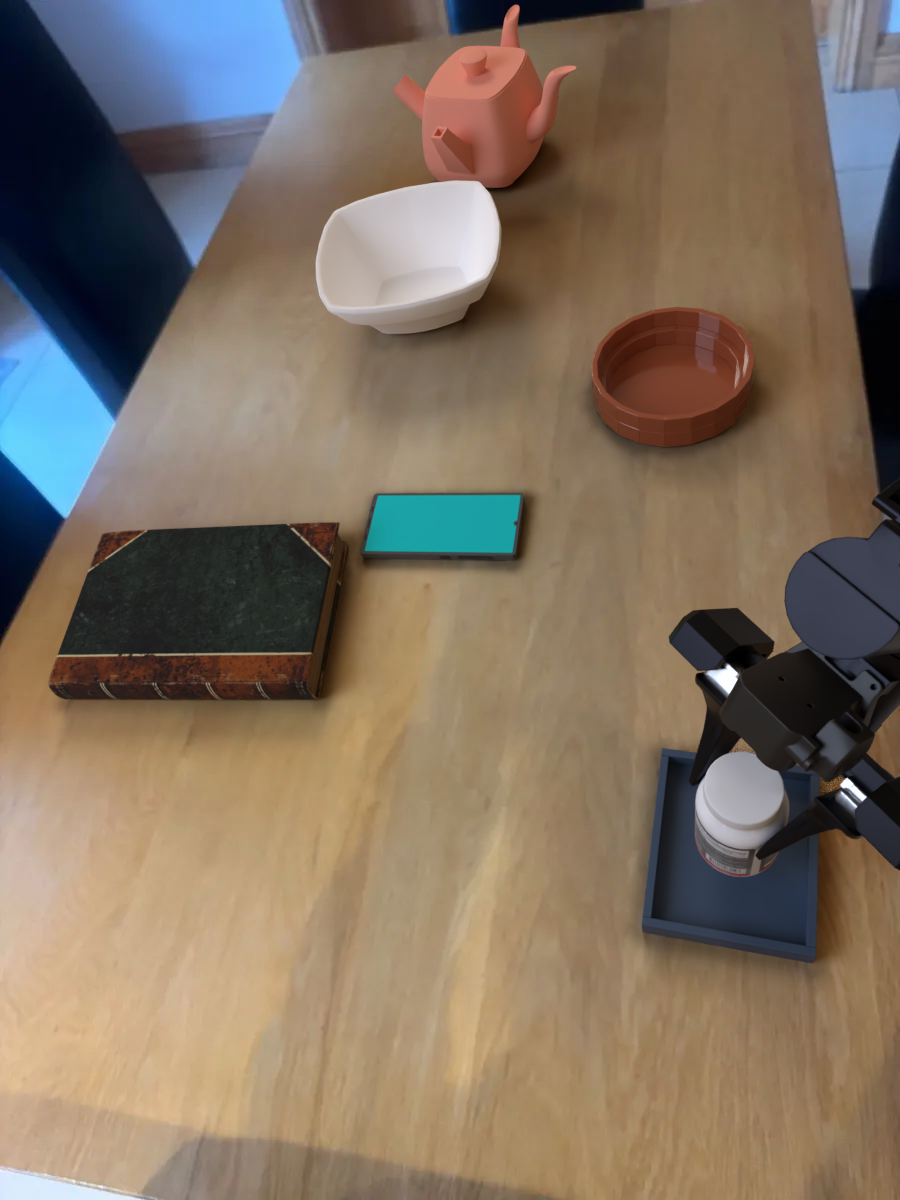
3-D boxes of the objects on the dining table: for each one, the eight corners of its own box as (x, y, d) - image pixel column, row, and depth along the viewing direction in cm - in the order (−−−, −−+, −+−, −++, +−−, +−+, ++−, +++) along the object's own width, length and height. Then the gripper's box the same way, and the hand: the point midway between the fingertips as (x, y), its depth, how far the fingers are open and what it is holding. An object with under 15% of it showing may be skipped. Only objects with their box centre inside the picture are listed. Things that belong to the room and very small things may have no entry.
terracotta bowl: (679, 317, 96) (679, 286, 93) (785, 391, 88) (789, 360, 85) (564, 390, 94) (560, 361, 91) (662, 474, 86) (662, 445, 82)
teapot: (529, 105, 124) (516, -5, 113) (585, 171, 113) (576, 57, 102) (405, 154, 123) (379, 49, 112) (450, 225, 113) (426, 116, 102)
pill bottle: (754, 786, 65) (766, 729, 57) (796, 860, 62) (814, 811, 53) (679, 816, 65) (680, 762, 57) (717, 891, 62) (723, 847, 53)
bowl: (334, 383, 101) (309, 322, 94) (340, 265, 113) (318, 204, 106) (518, 350, 98) (507, 285, 91) (505, 233, 110) (494, 167, 103)
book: (350, 542, 89) (119, 550, 94) (339, 519, 86) (101, 529, 91) (319, 704, 79) (65, 703, 85) (306, 685, 76) (43, 685, 82)
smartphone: (374, 493, 90) (524, 492, 86) (376, 498, 91) (525, 498, 87) (358, 554, 86) (515, 556, 83) (361, 559, 87) (516, 561, 83)
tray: (661, 758, 71) (661, 747, 69) (816, 778, 68) (820, 767, 66) (642, 932, 64) (641, 925, 62) (812, 963, 61) (816, 956, 59)
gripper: (694, 529, 50) (555, 728, 57) (986, 785, 40) (771, 986, 47) (789, 535, 58) (655, 710, 65) (1054, 751, 48) (860, 929, 55)
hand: (725, 818), depth 58 cm, fingers closed on pill bottle, 6 cm apart
